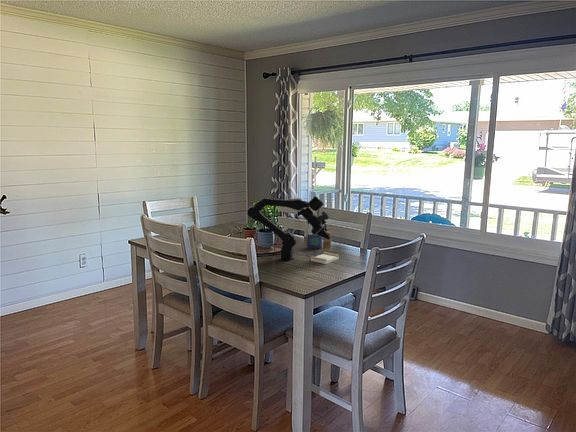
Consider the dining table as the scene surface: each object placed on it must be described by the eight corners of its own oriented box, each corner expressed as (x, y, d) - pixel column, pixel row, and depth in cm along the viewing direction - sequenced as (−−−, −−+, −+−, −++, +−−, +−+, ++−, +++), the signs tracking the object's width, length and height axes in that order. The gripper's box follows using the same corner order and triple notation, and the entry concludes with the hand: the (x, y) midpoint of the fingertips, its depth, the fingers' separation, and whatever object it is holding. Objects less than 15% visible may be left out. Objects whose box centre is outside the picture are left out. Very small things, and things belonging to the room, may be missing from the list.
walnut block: (330, 250, 235) (330, 232, 234) (322, 250, 236) (323, 232, 234) (330, 248, 239) (331, 231, 237) (323, 248, 240) (324, 230, 238)
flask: (322, 247, 266) (322, 230, 264) (322, 249, 263) (322, 232, 261) (307, 247, 267) (307, 230, 265) (307, 248, 264) (307, 231, 262)
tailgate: (325, 264, 232) (325, 259, 232) (309, 260, 239) (309, 256, 238) (338, 258, 242) (338, 254, 242) (322, 255, 249) (322, 251, 248)
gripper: (318, 210, 225) (338, 232, 225) (323, 204, 243) (342, 225, 243) (303, 223, 228) (323, 245, 228) (309, 217, 246) (327, 237, 246)
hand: (329, 237), depth 236 cm, fingers closed on walnut block, 4 cm apart
